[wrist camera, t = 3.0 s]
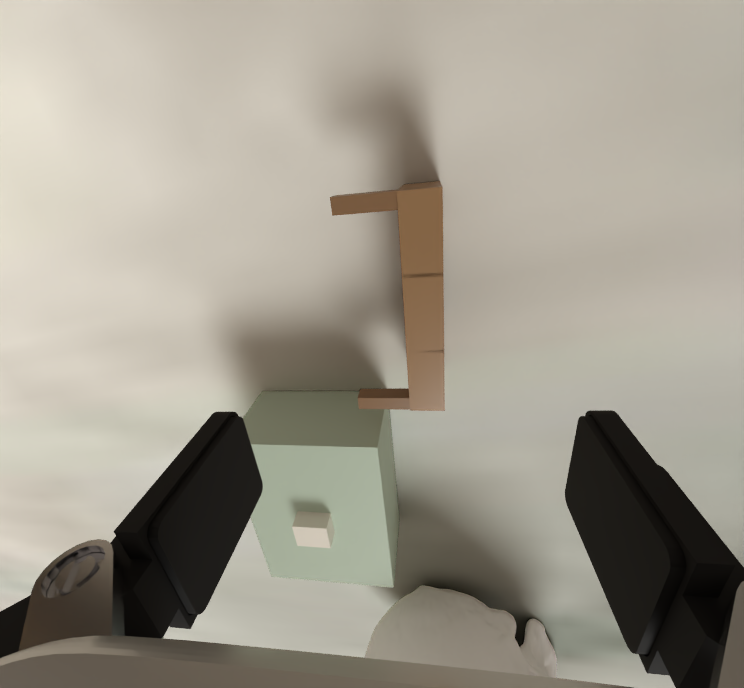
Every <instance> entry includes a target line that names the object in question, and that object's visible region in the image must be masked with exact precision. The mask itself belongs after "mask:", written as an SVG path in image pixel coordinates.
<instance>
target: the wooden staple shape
mask: <svg viewBox="0 0 744 688" xmlns="http://www.w3.org/2000/svg"><path fill="white" fill-rule="evenodd" d="M330 201H331V208H332V215H344V214H356V213H368V212H379V211H391V210H398V221H399V238H400V254H401V270H402V287H403V303H404V319H405V336H406V352H407V368H408V385H409V389H360V391H359V395H358V406H359V409H410V410H420V411H445V400H444V300H443V200H442V185H441V183H440V181H435V182H424V183H414V184H404V185H403V186H402V187H401V188H400V189H398V190H387V191H377V192H366V193H356V194H345V195H335V196H332V197H330Z"/></svg>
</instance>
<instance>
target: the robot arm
mask: <svg viewBox="0 0 744 688" xmlns="http://www.w3.org/2000/svg"><path fill="white" fill-rule="evenodd" d="M262 490H263V483H262V479H261V476H260V472H259V469H258V466H257V463H256V459H255V456H254V453H253V449H252V446H251V443H250V440H249V436H248V433H247V430H246V426H245V423H244V420H243V418H242V417H239V416H238V414H237V413H236V412H215V413H213V414H212V415H211V417H210V418H209V419H208V420H207V421H206V423H205V424H204V425H203V426H202V427H201V428H200V430H199V431H198V432H197V433H196V434H195V436H194V437H193V438H192V439H191V440H190V442H189V443H188V444H187V445H186V446H185V447H184V449H183V450H182V451H181V452H180V453H179V455H178V456H177V457H176V458H175V459H174V461H173V462H172V463H171V464H170V465H169V466H168V468H167V469H166V470H165V471H164V472H163V474H162V475H161V476H160V477H159V478H158V480H157V481H156V482H155V483H154V484H153V485H152V487H151V488H150V489H149V490H148V491H147V493H146V494H145V495H144V496H143V497H142V499H141V500H140V501H139V502H138V503H137V504H136V506H135V507H134V508H133V509H132V510H131V512H130V513H129V514H128V515H127V516H126V518H125V519H124V520H123V521H122V522H121V524H120V525H119V526H118V527H117V528H116V529H115V531H114V533H115V534H116V537H115V538H114V539H113V540H112V542H111V543H109V542H108V541H106V540H100V539H97V540H91V541H87V542H84V543H81V544H79V545H76V546H75V547H73V548H71V549H69V550H67V551H66V552H64V553H63V554H62V555H60V556H59V557H57V558H56V559H55V560H54V561H52V562H51V563H50V564H49V565H48V566H47V567H46V568H45V569H44V570H43V572H42V573H41V575H40V576H39V577H38V579H37V580H36V582H35V584H34V587H33V589H32V592H31V595H30V596H28V597H27V598H25V599H23V600H21V601H19V602H17V603H16V604H14V605H12V606H10V607H8V608H6V609H5V610H3V611H1V612H0V688H632V687H624V686H616V685H608V684H601V683H593V682H585V681H577V680H569V679H560V678H551V677H542V676H532V675H523V674H514V673H504V672H495V671H486V670H476V669H467V668H458V667H448V666H439V665H430V664H420V663H410V662H400V661H391V660H381V659H371V658H361V657H351V656H342V655H332V654H322V653H312V652H302V651H292V650H281V649H271V648H261V647H250V646H240V645H229V644H219V643H208V642H198V641H187V640H173V639H163V636H164V634H165V632H166V631H167V629H168V627H169V626H170V627H175V628H186V629H191V627H192V625H193V623H194V621H195V619H196V617H197V615H198V614H201V613H202V612H203V611H204V610H205V608H206V607H207V605H208V603H209V601H210V599H211V597H212V595H213V593H214V590H215V588H216V586H217V584H218V582H219V580H220V578H221V576H222V574H223V572H224V570H225V568H226V566H227V564H228V562H229V560H230V558H231V556H232V554H233V552H234V550H235V547H236V545H237V543H238V541H239V539H240V537H241V535H242V533H243V531H244V529H245V527H246V525H247V523H248V521H249V519H250V517H251V515H252V513H253V511H254V509H255V507H256V504H257V502H258V500H259V498H260V496H261V494H262ZM565 498H566V503H567V506H568V508H569V511H570V513H571V515H572V518H573V520H574V523H575V525H576V527H577V530H578V532H579V534H580V537H581V539H582V541H583V544H584V546H585V548H586V551H587V553H588V555H589V558H590V560H591V562H592V565H593V567H594V569H595V572H596V574H597V577H598V579H599V581H600V584H601V586H602V588H603V591H604V593H605V595H606V598H607V600H608V602H609V605H610V607H611V609H612V612H613V614H614V616H615V619H616V621H617V623H618V626H619V628H620V631H621V633H622V635H623V638H624V640H625V642H626V644H627V646H628V648H629V649H630V651H631V652H632V653H635V654H639V656H640V658H641V661H642V663H643V665H644V667H645V670H646V672H647V673H651V674H661V675H670V677H671V679H672V681H673V683H674V685H675V687H676V688H744V567H743V566H742V565H741V564H740V562H739V561H738V560H737V559H736V557H735V556H734V555H733V554H732V552H731V551H730V550H729V549H728V547H727V546H726V545H725V544H724V542H723V541H722V540H721V539H720V537H719V536H718V535H717V534H716V532H715V531H714V530H713V529H712V527H711V526H710V525H709V524H708V522H707V521H706V520H705V519H704V517H703V516H702V515H701V514H700V512H699V511H698V510H697V509H696V507H695V506H694V505H693V504H692V502H691V501H690V500H689V499H688V497H687V496H686V495H685V494H684V492H683V491H682V490H681V489H680V487H679V486H678V485H677V484H676V482H675V481H674V480H673V479H672V477H671V476H670V475H669V473H668V472H667V471H666V470H665V469H664V468H663V467H661V466H659V465H657V464H656V463H655V461H654V460H653V459H652V458H651V456H650V455H649V454H648V452H647V451H646V450H645V449H644V447H643V446H642V445H641V444H640V442H639V441H638V440H637V438H636V437H635V436H634V435H633V433H632V432H631V431H630V429H629V428H628V427H627V426H626V424H625V423H624V422H623V421H622V419H621V418H620V417H619V415H618V414H617V413H616V412H615V411H588V412H587V413H586V415H585V416H581V417H580V418H579V420H578V424H577V429H576V435H575V440H574V446H573V451H572V456H571V462H570V467H569V473H568V478H567V484H566V489H565Z"/></svg>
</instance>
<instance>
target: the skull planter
mask: <svg viewBox="0 0 744 688" xmlns="http://www.w3.org/2000/svg"><path fill="white" fill-rule="evenodd" d="M515 634H516V622H515V619H514V617H513V616H512V615H511V614H510V613H508V612H507V611H505V610H497V609H492V608H489V607H487V606H486V605H485V604H484V603H482V602H481V601H479V600H478V599H476V598H474V597H473V596H471V595H467V594H465V593H461V592H457V591H455V590H451V589H437V588H434V587H431V586H425V585H422V586H419V587H418V588H417V589H416V590H414V591H413V592H412V593H410V594H408V595H406V596H404V597H403V598H401V599H400V600H399V601H398V602H397V603H395V604H394V605H393V606H392V607H391V608H390V609H389V610H388V611H387V613H386V614H385V615H384V616H383V617H382V619H381V620H380V621H379V623H378V624H377V626H376V627H375V629H374V631H373V634H372V636H371V639H370V642H369V645H368V648H367V651H366V655H365V658H371V659H381V660H391V661H400V662H410V663H420V664H430V665H439V666H448V667H458V668H467V669H476V670H486V671H495V672H504V673H514V674H523V675H532V676H542V677H551V678H557V658H556V654H555V651H554V648H553V646H552V644H551V643H550V641H549V639H548V637H547V635H546V633H545V627H544V626H543V624H542V623H540V622H539V621H538V620H536V619H530V620H529V621H528V622H527V624H526V628H525V637H524V643H523V644H522V645H521V646H520V647H519V645H518V643H517V641H516V640H515Z"/></svg>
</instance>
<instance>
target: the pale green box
mask: <svg viewBox="0 0 744 688" xmlns="http://www.w3.org/2000/svg"><path fill="white" fill-rule="evenodd" d="M358 395H359V391H262V393H261V394H260V395H259V397H258V398H257V399H256V401H255V402H254V404H253V405H252V406H251V408H250V409H249V410H248V412H247V413H246V415H245V416H244V417H243V420H244V423H245V426H246V430H247V433H248V436H249V440H250V443H251V446H252V449H253V453H254V456H255V459H256V463H257V466H258V469H259V472H260V476H261V479H262V483H263V490H262V494H261V496H260V498H259V500H258V502H257V504H256V507H255V509H254V511H253V513H252V515H251V520H252V523H253V526H254V528H255V531H256V534H257V537H258V540H259V543H260V545H261V548H262V551H263V554H264V557H265V559H266V562H267V565H268V568H269V571H270V574H271V576H272V577H282V578H293V579H304V580H315V581H326V582H336V583H347V584H358V585H369V586H380V587H391V588H394V578H395V567H396V555H397V543H398V532H399V520H400V519H399V508H398V497H397V486H396V475H395V464H394V453H393V443H392V432H391V421H390V410H389V409H359V406H358Z"/></svg>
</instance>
